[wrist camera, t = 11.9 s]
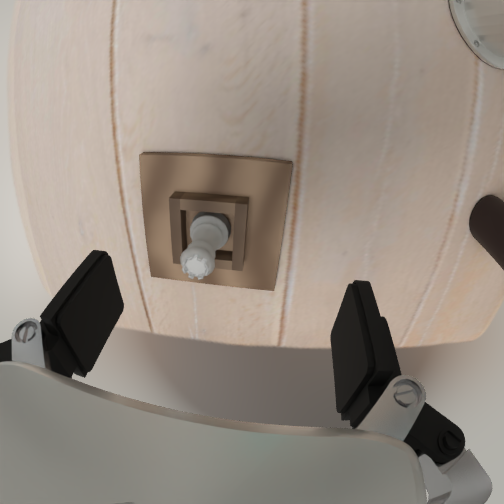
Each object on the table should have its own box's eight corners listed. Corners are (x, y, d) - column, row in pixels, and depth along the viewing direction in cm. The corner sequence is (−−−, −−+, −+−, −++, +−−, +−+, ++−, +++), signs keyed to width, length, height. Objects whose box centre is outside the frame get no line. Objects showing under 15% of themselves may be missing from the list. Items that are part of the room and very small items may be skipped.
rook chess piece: (206, 200, 30) (186, 237, 24) (239, 224, 32) (230, 266, 25) (184, 229, 32) (162, 270, 26) (216, 250, 34) (202, 296, 27)
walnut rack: (291, 161, 29) (293, 169, 26) (274, 284, 37) (273, 301, 35) (143, 152, 29) (131, 159, 26) (154, 271, 37) (145, 286, 35)
